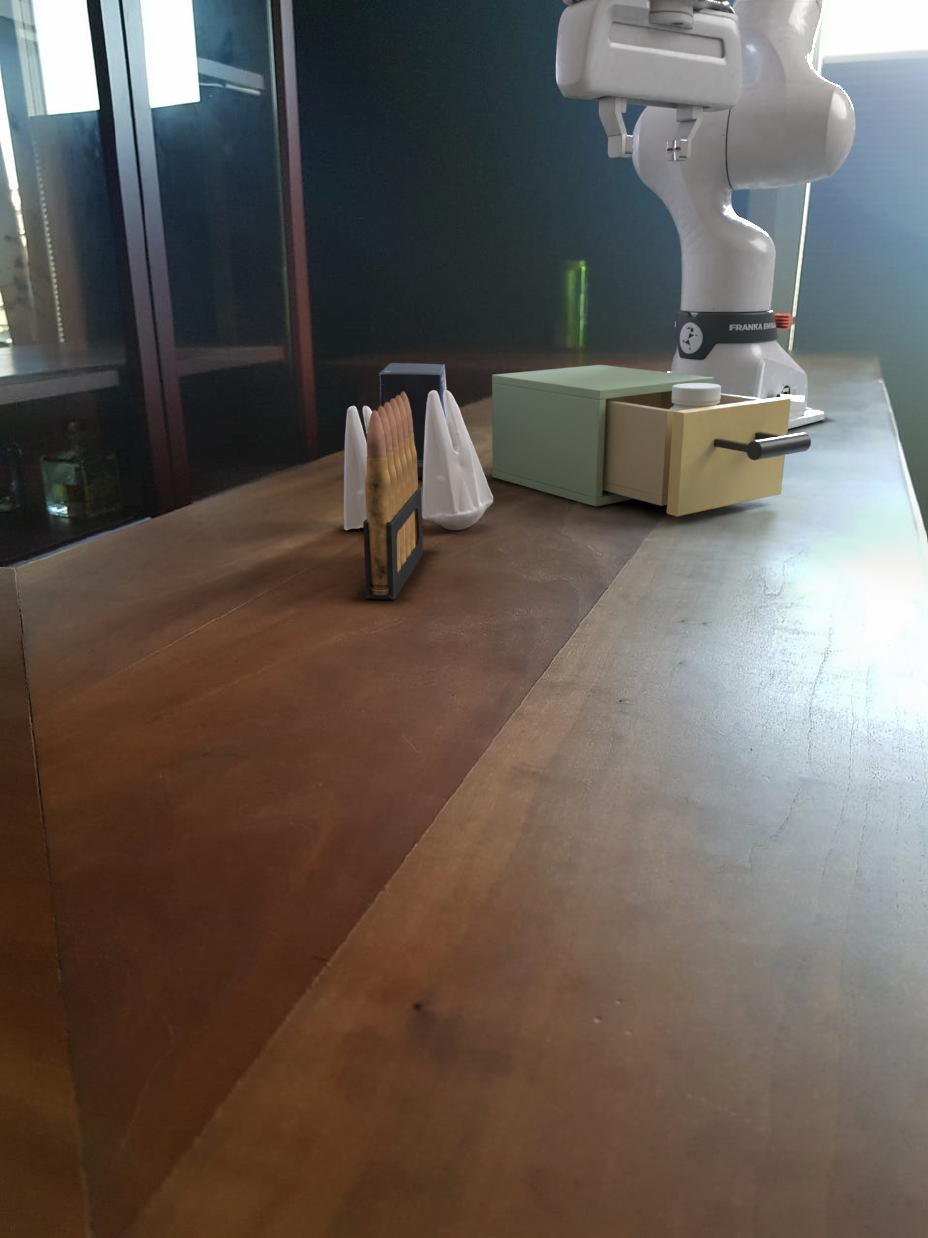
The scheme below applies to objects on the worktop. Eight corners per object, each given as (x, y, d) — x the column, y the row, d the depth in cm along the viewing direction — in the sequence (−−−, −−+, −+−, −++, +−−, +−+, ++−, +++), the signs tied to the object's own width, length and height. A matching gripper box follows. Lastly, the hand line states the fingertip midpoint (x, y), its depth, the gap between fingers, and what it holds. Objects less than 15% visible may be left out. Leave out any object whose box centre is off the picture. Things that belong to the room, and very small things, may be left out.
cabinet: (706, 485, 91) (714, 377, 87) (595, 506, 84) (599, 390, 80) (597, 460, 103) (600, 364, 99) (492, 477, 96) (491, 374, 92)
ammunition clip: (399, 552, 71) (393, 389, 67) (423, 552, 71) (418, 389, 67) (365, 599, 61) (356, 412, 57) (393, 600, 61) (385, 412, 57)
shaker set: (494, 522, 79) (494, 386, 75) (487, 535, 75) (486, 393, 71) (355, 518, 81) (348, 385, 77) (342, 531, 77) (333, 392, 73)
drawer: (829, 504, 79) (842, 404, 76) (724, 529, 73) (734, 420, 70) (661, 467, 94) (666, 382, 91) (561, 485, 88) (564, 394, 85)
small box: (445, 479, 95) (443, 371, 91) (380, 480, 95) (375, 372, 91) (449, 458, 105) (447, 361, 101) (390, 459, 105) (386, 362, 101)
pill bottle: (718, 478, 84) (726, 382, 81) (717, 490, 80) (725, 389, 77) (664, 476, 85) (670, 381, 83) (659, 488, 81) (666, 388, 78)
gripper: (712, 8, 91) (701, 166, 96) (546, -23, 81) (543, 157, 85) (765, -7, 86) (751, 161, 91) (595, -42, 76) (590, 150, 80)
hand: (649, 159), depth 88 cm, fingers open, 6 cm apart
